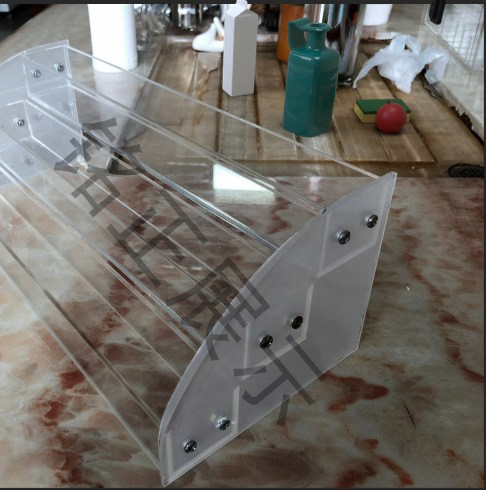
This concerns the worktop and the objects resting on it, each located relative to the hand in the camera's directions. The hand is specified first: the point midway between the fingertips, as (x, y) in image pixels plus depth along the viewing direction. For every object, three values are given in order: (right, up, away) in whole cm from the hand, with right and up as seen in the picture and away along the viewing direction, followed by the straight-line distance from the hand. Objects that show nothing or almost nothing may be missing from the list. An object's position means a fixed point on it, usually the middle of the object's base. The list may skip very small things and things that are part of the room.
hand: (464, 21), depth 98 cm
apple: (-1, -13, +27) cm, 30 cm away
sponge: (-1, -8, +35) cm, 36 cm away
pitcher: (-19, -12, +31) cm, 38 cm away
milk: (-31, +1, +50) cm, 59 cm away
